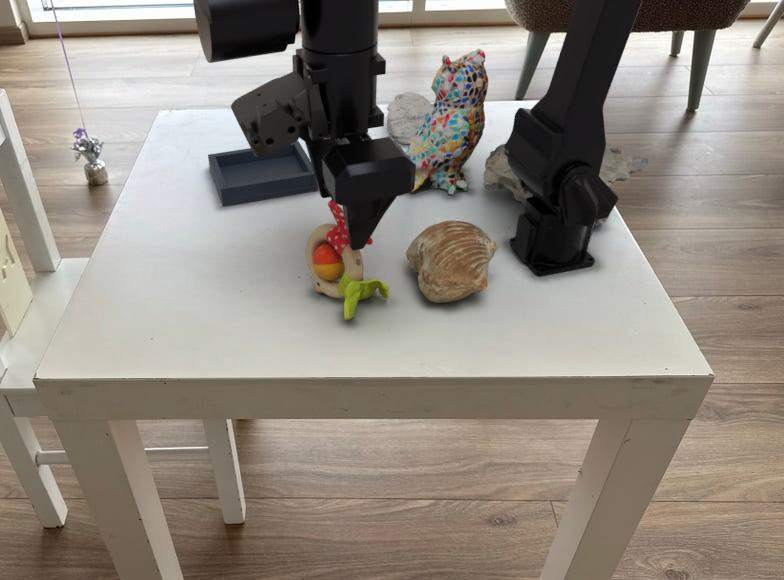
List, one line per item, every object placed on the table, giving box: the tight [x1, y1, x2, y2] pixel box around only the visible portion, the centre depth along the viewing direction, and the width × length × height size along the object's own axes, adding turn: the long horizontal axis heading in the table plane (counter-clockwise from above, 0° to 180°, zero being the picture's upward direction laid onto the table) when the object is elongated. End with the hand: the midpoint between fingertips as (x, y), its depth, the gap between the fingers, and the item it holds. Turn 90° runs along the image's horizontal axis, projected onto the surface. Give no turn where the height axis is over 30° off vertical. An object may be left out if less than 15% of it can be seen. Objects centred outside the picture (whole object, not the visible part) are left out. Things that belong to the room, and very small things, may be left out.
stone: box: [386, 91, 433, 145], centre depth 98 cm, size 10×5×10 cm
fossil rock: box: [482, 143, 649, 227], centre depth 82 cm, size 20×6×15 cm
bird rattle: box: [305, 199, 390, 321], centre depth 69 cm, size 6×11×9 cm
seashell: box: [405, 219, 499, 304], centre depth 71 cm, size 9×7×8 cm
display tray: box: [207, 140, 319, 207], centre depth 89 cm, size 12×9×2 cm
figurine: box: [405, 48, 489, 195], centre depth 83 cm, size 9×9×15 cm
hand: (341, 221), depth 66 cm, fingers open, 9 cm apart
